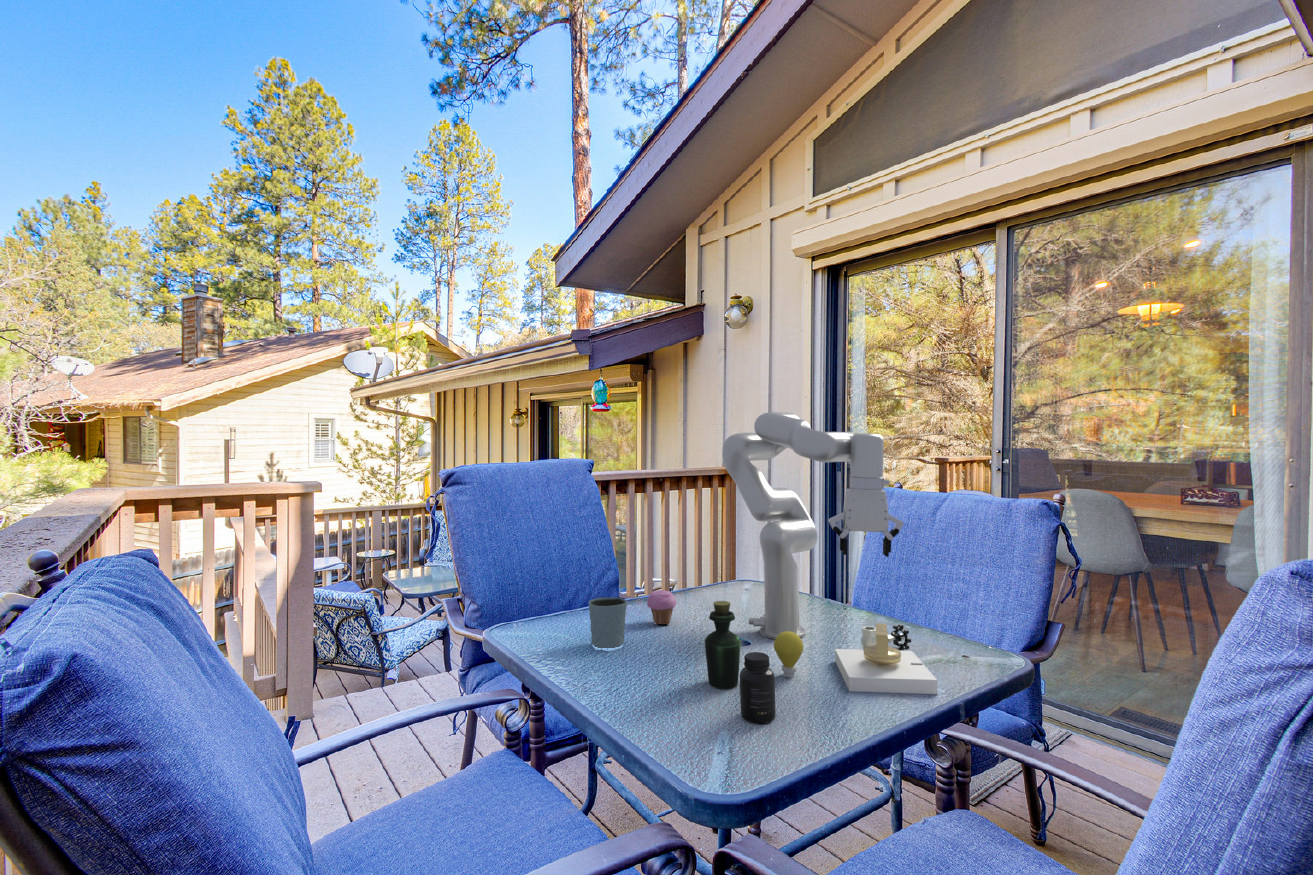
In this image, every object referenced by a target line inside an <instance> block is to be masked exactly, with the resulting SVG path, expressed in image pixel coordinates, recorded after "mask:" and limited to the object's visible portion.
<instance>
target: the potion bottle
mask: <svg viewBox="0 0 1313 875" xmlns="http://www.w3.org/2000/svg"><path fill="white" fill-rule="evenodd" d="M712 604H713V607H714V610H713V611H711V612H710V613H709V616H708V619H709V620H710V621H713V624H714V628H715V630H714V631H712V632H710V633H709V634H707V635H706V637H705V639H704V641H703V642H704V650H705V658H706V659H705V661H706V670H707V680H708V684H709V685H710V686H711V687H712V688H716V689H720V690H728V689H734V688H735V687H737V685H738V683H739V678H740V660H741V646H742V644H741V643H742V642H741V639H740V637H739V636H738V635H737V634H736V633H734V632H732V631H731V630H730V626H731V622H733V621H735V620H736V615H735V614H734V612H733V611H730V608H731V602H730V601H726V600H716V601H713V603H712Z"/></svg>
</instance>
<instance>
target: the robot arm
mask: <svg viewBox="0 0 1313 875" xmlns="http://www.w3.org/2000/svg"><path fill="white" fill-rule="evenodd" d="M753 426H754V427H753V428H754V432H738V433H734V434H731V435H729V436H728V437H727V438H726V439H725V441H724V443H723V446H722V460H723V464H724V467H725V470H726V471H727V473H728V474H729V476H730V477H731V479H732V480H733V482H734V483H735V485H736V486H737V488H738V491H739V492H740V494H741V497H742V499H743V501H744V502H745V504H746V507H747V508H748V510H749V512H750V514H751V516H752V517H753V518H754V519H755V520H756V521H759V522H761V523H763V522H768V523H766V524H764V526H763V527H762V529H761V530H760V532H759V542H760V548H761V553H762V560H763V579H764V580H763V581H764V582H763V583H764V585H763V586H764V613H763V614H762V615H763V616H759V617H748V625H753V627H759V633H760V634H761V635H762V636H764V637H766V638H769V639H772V640H775V639H776V637H777V636H778V635H779V634H780V633H782V632H785V631H790V632H793V633H795V634H797V635H798V636H799V637H800V638H801V639H802V638H803V637H804V636H806V628H804V627H803V626H801V625H800V623H801V622H800V591H799V590H800V588H799V587H800V582H799V580H800V579H799V567H798V565H797V563H796V561H795V559H794V556H793V554H796V553H797V554H798V553H803V552H807V551H810V550H812V549H813V548H814V547H815V546H816V545H817V542H818V538H819V536H818V531H817V527H816V525H815V523H814V521H813V520H812V518H811V516H810V514H809V513H808V511H807V509H806V507H805V505H804V504H803V502H802V500H801V499H800V497H799V496H798V494H796V492H795V491H794V490H792V489H790V488H787V487H772V486H771V485H770V483H769V482H768V481H767V479H766V477H765V475H764V474H763V473H762V471H761V470H760V469H759V468H758V467H756V466H755V464H753V463H752V462H751V461H753V462H754V461H769V460H772V459H774V458H776V457H777V456H779V455H780V454H781V453H782V452H783V451H785V450H786V449H787V448H788V449H790V450H792V451H793V452H794V453H795V454H796V455H798V456H799V457H803V458H806V459H809V460H812V461H816V462H820V463H836V462H837V463H838V462H839V463H842V462H844V463H846V462H849V463H850V464H849V465H850V466H849V467H850V468H849V469H850V470H849V476H850V477H849V488H846V489H845V495H844V500H843V509H842V512H840V513H838V514H836V515H834V516H832V517H830V518H828V523H829V525H830V527H831V529H832V530H833V531H834V532H835V534H837V535H838V537H839V551H841V553H842V555H843V556H846V555H847V554H848V538H847V536H848V535H849V533H851V531H852V532H869V533H870V532H871V533H882V535H883V536H884V537H883V538H882V555H883V556H885V557H890V556H889V555H890V553H892V541H893V540H894V538H896V536H898V535H899V533H900V530H901V529H902V528H903V526H904V525H905V524H904V521H902V520H900V519H899V518H897V517H895V516H893V515H892V514H889V507H888V506H889V505H888V497H887V493H886V490H884V487H886V486H890V480H889V479H887V480H886V479H885V478H884V447H885V446H884V445H885V444H884V437H883V436H882V435H881V434H879V433H869V432H868V433H863V432H862V433H858V432H857V433H856V432H852V431H851V432H850V431H820V430H816V429H812V428H811V424H810V423H809V422H808V421H806V420H805V419H800V417H799V415H796V414H795V413H792V412H783V411H781V412H780V411H779V412H778V411H770V412H769V411H768V412H764V413H762V414H760V415H759V416H758V417H757V418H756V419H755V422H754V424H753ZM840 521H842V524H843V527H842V528H839V527H838V525H837V522H840ZM889 521H890V522H892V523H894V527H893V528H892V529H891V530H890V531H889V523H890V522H889Z"/></svg>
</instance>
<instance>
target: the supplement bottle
mask: <svg viewBox="0 0 1313 875" xmlns="http://www.w3.org/2000/svg"><path fill="white" fill-rule="evenodd" d="M743 660H744V661H743V666H744V667H742V669H741V670H740V671H739V697H740V699H739V702H740V704H739V705H740V716H741V718H742V719H743V720H744V721H745V722H748V723H750V724H753V725H754V724H755V725H766V724H769V723H771V722H773V721H774V720H775V718H776V715H777V714H776V680H775V679H776V677H775V673H774V671H773V670H772V669H771V667H770V665H771V663H770V656H769V655H768V654H766V653H765V652H759V651H752V652H751V651H750V652H747V653H746V654H744V659H743Z"/></svg>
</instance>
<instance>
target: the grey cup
mask: <svg viewBox="0 0 1313 875" xmlns="http://www.w3.org/2000/svg"><path fill="white" fill-rule="evenodd" d="M627 603H628V602H627V600H626V599H625V598H622V597H615V596H605V597H604V596H603V597H596V598H593V599H590V600H589V601H588V612H589V620H590V634H591V637H590V638H591V645H592V644H593V645H594V646H595V647H598V648H615V647H619V646H621V645H622V644H623V643H624V644H625V626H626V614H627V606H628V605H627Z"/></svg>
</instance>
